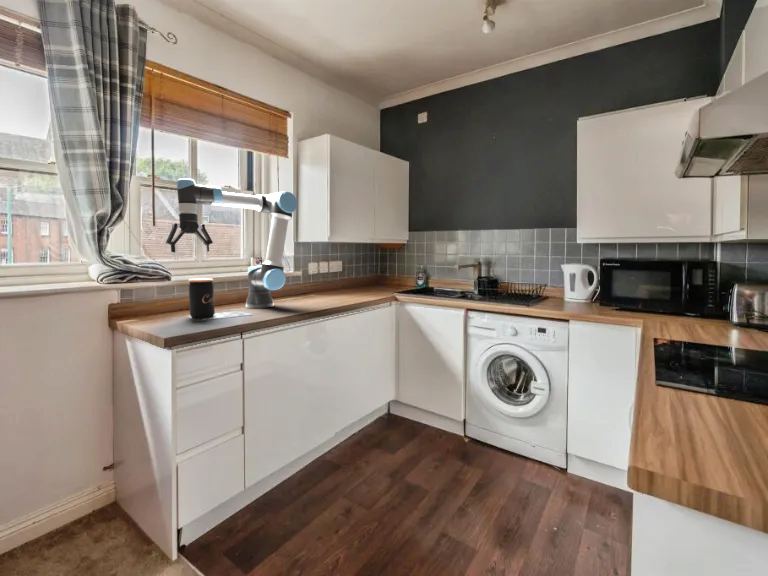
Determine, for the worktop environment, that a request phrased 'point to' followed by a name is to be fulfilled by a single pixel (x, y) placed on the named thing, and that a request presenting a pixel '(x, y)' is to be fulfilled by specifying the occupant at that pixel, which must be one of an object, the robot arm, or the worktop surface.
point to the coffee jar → (201, 298)
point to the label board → (224, 315)
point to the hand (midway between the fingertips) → (191, 259)
